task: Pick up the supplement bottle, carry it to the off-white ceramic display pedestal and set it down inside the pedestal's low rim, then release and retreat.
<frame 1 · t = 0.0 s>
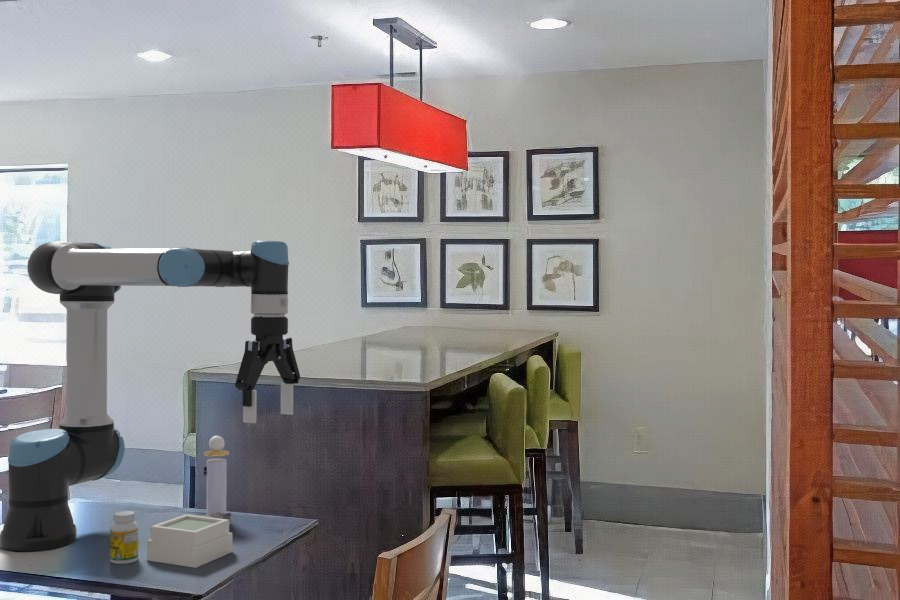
hand: (268, 418, 192), 28 cm above the table, fingers open, 13 cm apart
supplement bottle: (124, 561, 187), on the table
display pedestal: (190, 556, 190), on the table
perfume bottle: (216, 521, 219), on the table
mineral specimen: (203, 534, 209), on the table
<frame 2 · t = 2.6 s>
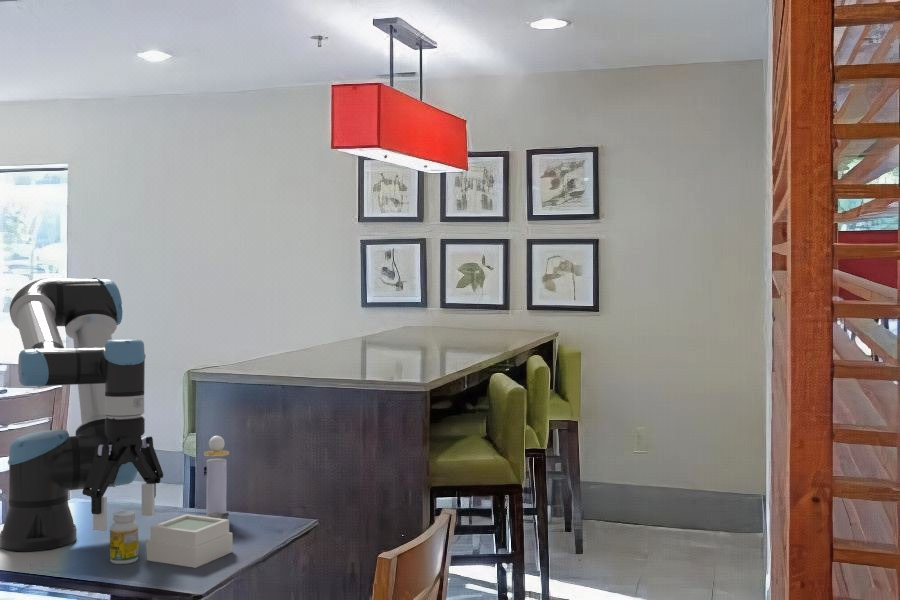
hand: (124, 522, 186), 8 cm above the table, fingers open, 13 cm apart
nothing on the table moved.
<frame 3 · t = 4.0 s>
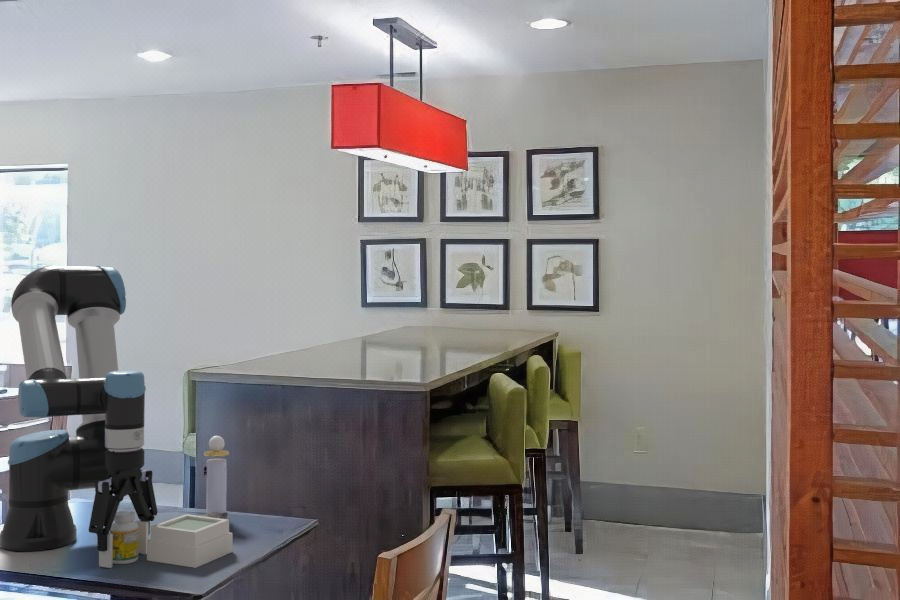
hand: (124, 559, 187), 0 cm above the table, fingers open, 10 cm apart
nothing on the table moved.
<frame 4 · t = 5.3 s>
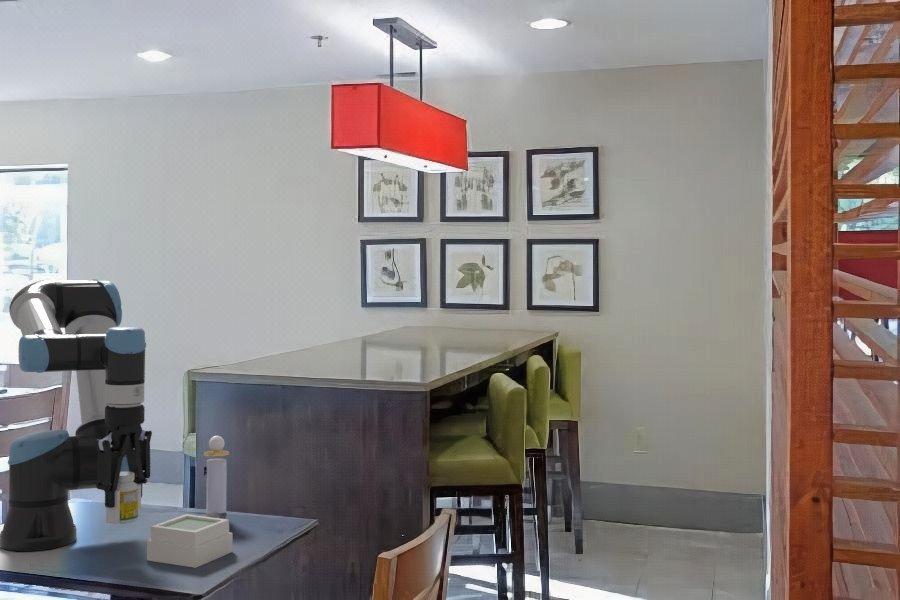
hand: (123, 518, 187), 8 cm above the table, fingers closed on supplement bottle, 5 cm apart
supplement bottle: (123, 521, 187), point 8 cm above the table, touching gripper
everything else where it was.
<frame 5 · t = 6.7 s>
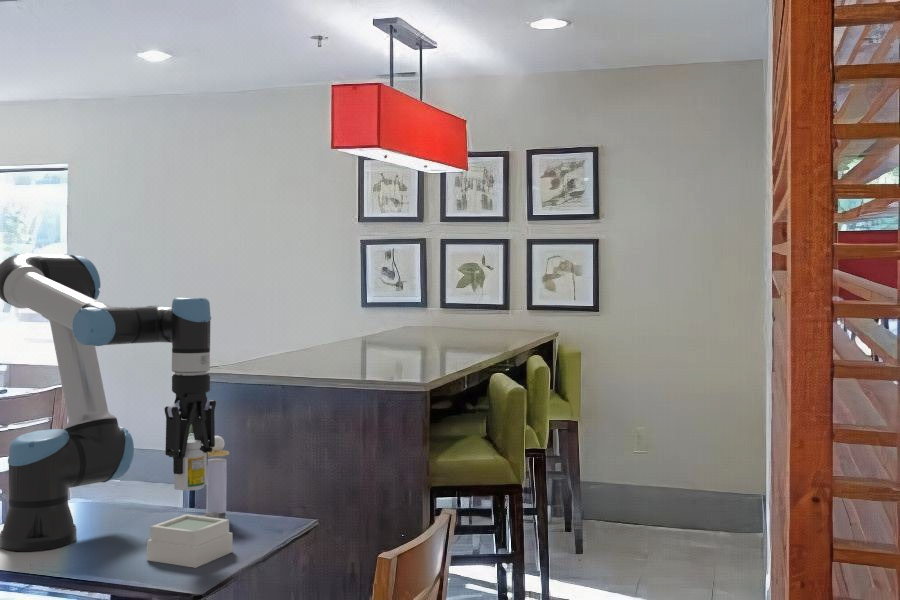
hand: (190, 486, 190), 14 cm above the table, fingers closed on supplement bottle, 5 cm apart
supplement bottle: (190, 488, 190), point 14 cm above the table, touching gripper
everything else where it was.
when the fingers open (7 cm above the table, at t = 8.5 s): supplement bottle stays where it is, resting on display pedestal.
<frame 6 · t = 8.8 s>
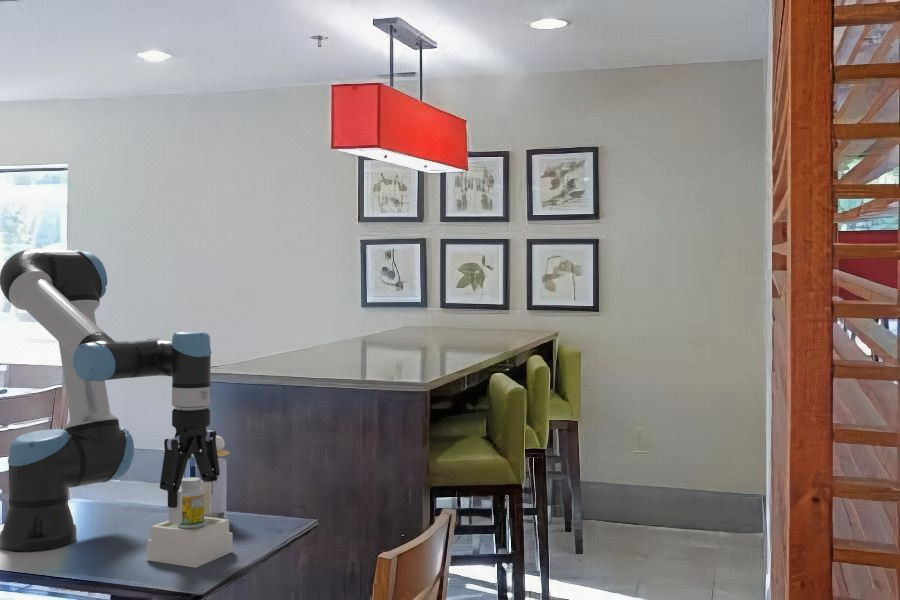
hand: (190, 517, 190), 8 cm above the table, fingers open, 9 cm apart
supplement bottle: (190, 526, 190), point 6 cm above the table, touching display pedestal
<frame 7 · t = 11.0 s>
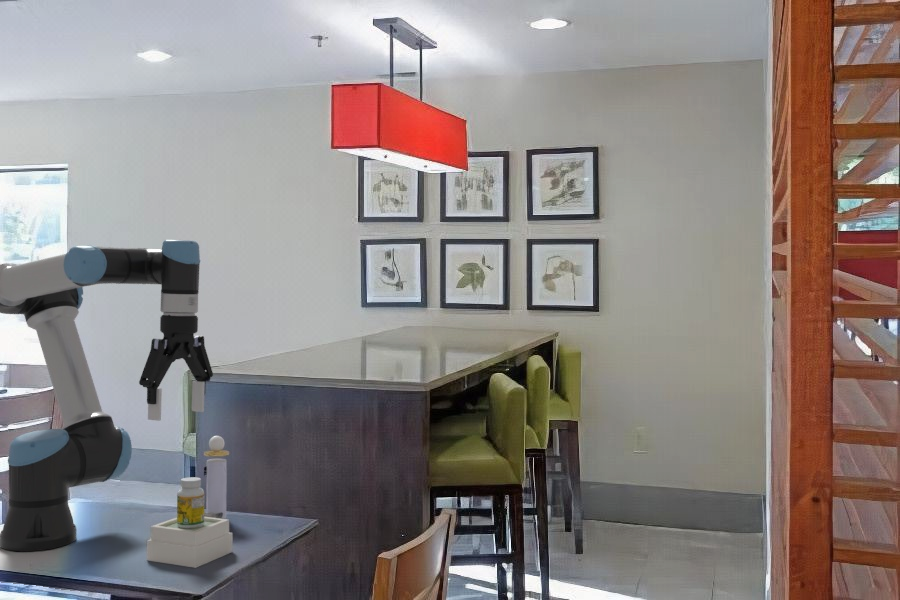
hand: (176, 415, 194), 28 cm above the table, fingers open, 13 cm apart
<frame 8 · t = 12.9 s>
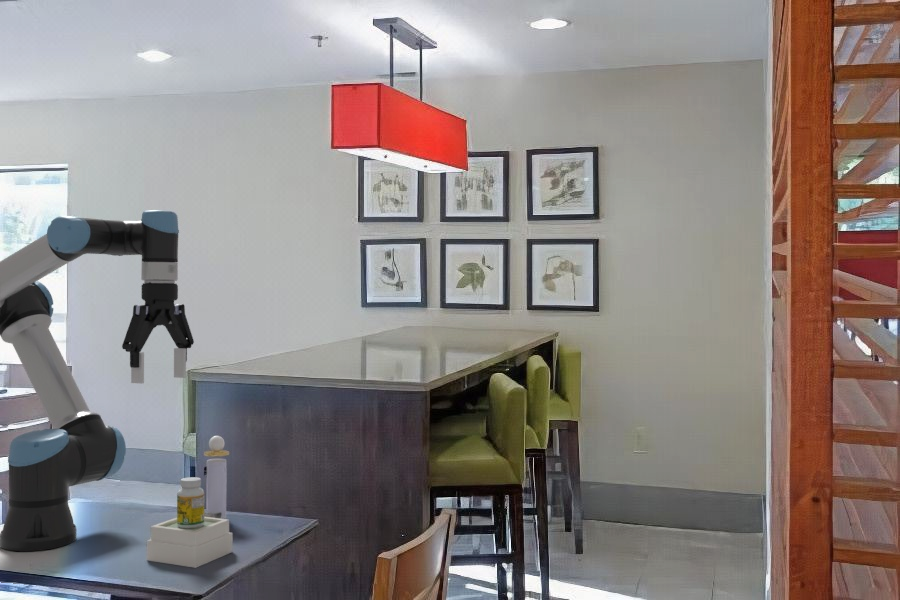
hand: (159, 380, 202), 35 cm above the table, fingers open, 13 cm apart
at the end: supplement bottle inside the target area on the display pedestal (0.0 cm from its centre), point 6.0 cm above the display pedestal's base; supplement bottle tilted 0°; the gripper is holding nothing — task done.
